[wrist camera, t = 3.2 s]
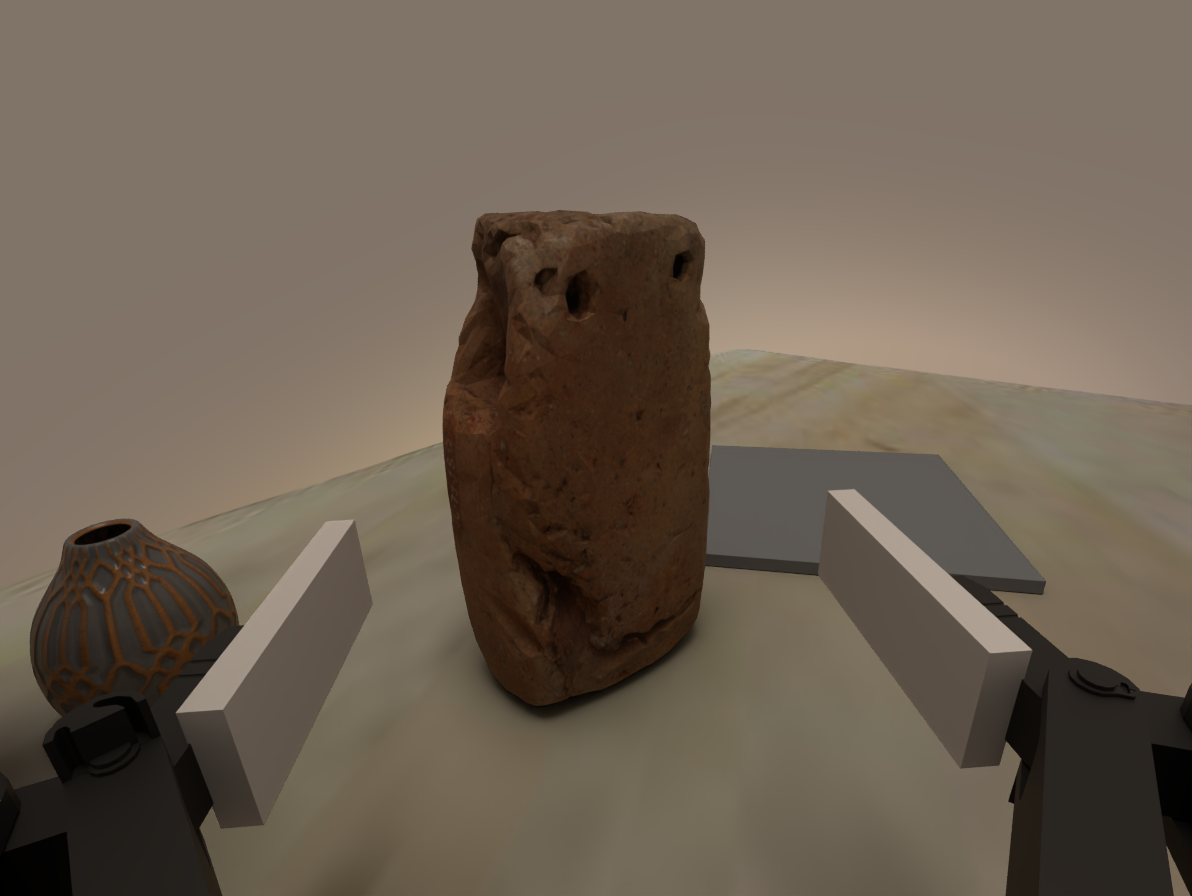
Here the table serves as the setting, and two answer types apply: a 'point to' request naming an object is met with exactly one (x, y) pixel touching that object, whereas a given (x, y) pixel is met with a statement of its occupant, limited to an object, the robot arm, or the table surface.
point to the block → (580, 446)
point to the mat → (886, 480)
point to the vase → (123, 615)
